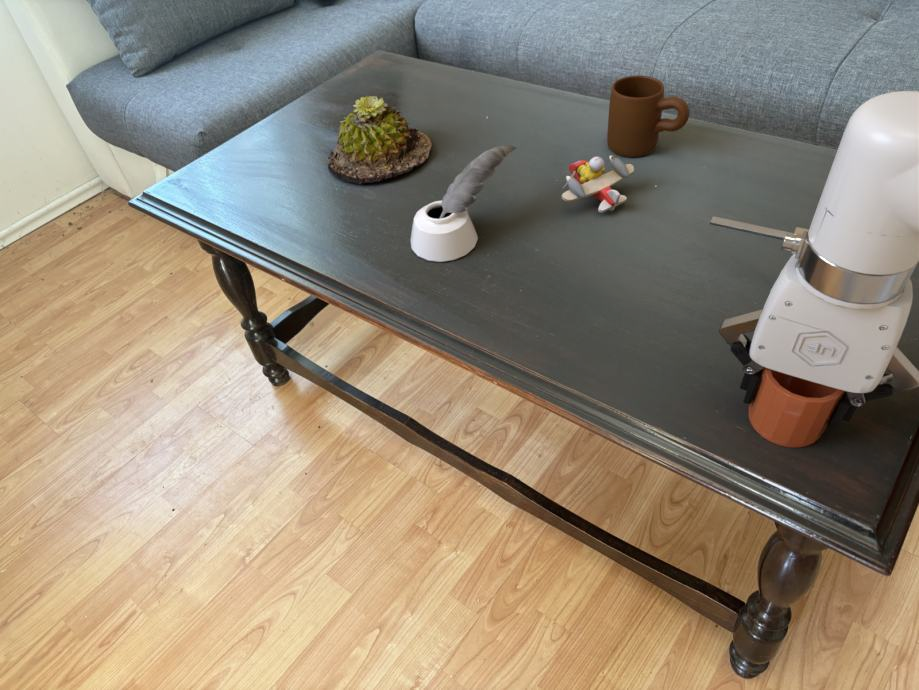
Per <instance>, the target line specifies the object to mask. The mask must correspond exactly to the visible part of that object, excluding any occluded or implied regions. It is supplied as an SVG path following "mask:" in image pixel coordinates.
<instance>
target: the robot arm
mask: <svg viewBox="0 0 919 690" xmlns="http://www.w3.org/2000/svg"><path fill="white" fill-rule="evenodd" d="M808 229H809V230H808V231H804V232H803V235H802V234H798V233H797V235H794V234H790V233H791V232H790V233H786V236H785V239H784V240H783V242H782V245H781V248H780V250H783V251H788V252H790V254H792V255H791V256H790V257H789V259H788V260H787V262H786V263H785V265H784V266H783V268H782V269H781V271H780V273H779V275H778V277H777V278H776V280H775V282H774V283H773V285H772V288H771V289H770V291H769V294H768V297H767V298H766V301H765V303H764V305H763V308H761V309H758V310H754V311H750V312H746V313H743V314H739V315H736V316H733V317H729V318H725V319H723V320H722V321H721V324H720V327H719V329H718V333H719V334H720V336H721V337H722V339H723V340H724V341H725V342H726V344H727V345H729V347H730V351H731V353H732V354H733V355H734V356H735V358H736V359H737V360H738V362H740V363H741V365H742V366H743V367H742V371H743V376H742V379H741V382H740V385H739V389H740V390H744V391H745V394H744V398H743V400H742V403H743V404H746V405H750V404H751V402H752V400H753V397H754V394H755V391H756V389H757V386H758V383H759V381H760V378H761V374H762V370H763V368H765V367H766V368H769V369H772V370H775V371H778V372H781V373H785V374H788V375H791V376H795V377H798V378H801V379H805V380H808V381H812V382H815V383H818V384H822V385H826V386H829V387H833V388H836V389H840V390H844V391H845V392H844V394H843V396H842V398H841V400H840V402H839V404H838V406H837V407H836V409H835V411H834V413H833V415H832V417H831V419H830V421H829V423H828V425H827V428H828V430H829V431H831V432H837V430H838V428H839V427H840V425H841V423H842V421H843V422H847V423H849V422H850V421H851V419H852V417H853V415H854V413H855V412H856V410H857V408H860V407H864V406H865V405H866V402H869V401H874V400H878V399H879V400H880V399H883V398H889V397H891V396H892V395H893V394H894V393H901V392H906V391H909V390H910V391H911V390H913V389H916V388H919V369H918V368H917V367H916V366H915V365H914V364H913V363H912V362H911V361H910V360H909V358H908V357H907V356H906V355H905V353H903V352H902V351H901V349H899V347H898V345H899V342H900V340H901V338H902V335H903V332H904V330H905V327H906V325H907V323H908V318H909V315H910V312H911V310H912V309H911V308H912V305H913V299H914V292H913V283H912V280H911V277H912V275H913V273H914V271H915V269H916V267H917V265H918V263H919V91H917V90H901V91H898V90H897V91H891V92H890V91H889V92H886V93H882V94H880V95H876V96H874V97H872V98H869V99H868V100H866V101H865V102H863V103H862V104H860V106H859V107H858V108H857V109H856V110H855V111H854V112H853V113H852V114H851V116H850V118H849V119H848V122H847V124H846V126H845V128H844V131H843V134H842V138H841V140H840V142H839V145H838V148H837V150H836V153H835V155H834V159H833V162H832V164H831V168H830V170H829V173H828V176H827V178H826V181H825V183H824V187H823V189H822V192H821V195H820V198H819V201H818V204H817V206H816V209H815V212H814V215H813V217H812V220H811V222H810V225H809V228H808ZM750 332H753V335H752V339H750V338H749V337H748V336H747V333H750ZM745 334H746V335H745ZM886 370H887V371H889V372H890V374H889V373H885V372H886Z"/></svg>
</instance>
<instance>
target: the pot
mask: <svg viewBox="0 0 919 690" xmlns="http://www.w3.org/2000/svg"><path fill="white" fill-rule="evenodd" d="M844 392H845V391H844V390H840V389H836V388H833V387H829V386H826V385H822V384H818V383H815V382H812V381H808V380H805V379H801V378H798V377H795V376H791V375H788V374H785V373H781V372H778V371H775V370H772V369H769V368H766V367H765V368H763V370H762V374H761V378H760V381H759V383H758V386H757V389H756V391H755V394H754V397H753V400H752V402H751V404H750V403H749V406H748V409H747V411H748V412H747V416H748V420H749V422H750V424H751V426H752V428H753V429H754V431H756V433H757V434H758V435H760V436H761V437H762V438H764V439H765V440H767V441H768V442H770V443H772V444H775V445H777V446H781V447H786V448H793V449H794V448H804V447H807V446H810V445H813V444H814V443H816V442H817V441H819V439H820V438H821V436H822V435H823V433H824V432H825V430H826V429H827V428H828V423H829V421H830V419H831V417H832V415H833V413H834V411H835V409H836V407H837V406H838V404H839V402H840V400H841V398H842V396H843V394H844Z"/></svg>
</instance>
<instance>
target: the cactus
mask: <svg viewBox="0 0 919 690" xmlns="http://www.w3.org/2000/svg"><path fill="white" fill-rule="evenodd" d="M352 107H353V108H355V109H353V110H352V111H353V112H350V113H349V114H348V115H347V116H346V117H345V116H343V118H344V120H340V126H339V129H338V131H339V132H338V135H337V136H338V139H337V142H336V146H335V148H334V149H332V150H331V151H330V152H329V156H328V157H327V167H328V171H329V173H330V174H331V175H333V176H334V177H335V178H336V179H338V180H340V181H342V182H347V183H355V184H356V185H357V184H358V185H362V184H367V183H368V184H369V183H370V184H371V183H375V182H380V181H382V180H383V181H384V180H387V179H388V178H389V179H391V178H396V177H397V176H400V175H403V174H404V173H405V174H407V173H408V172H410V171H412V170H413V169H414V168H416V167H419V166H421V165H422V164H423V163H425V162H426V160H427V159H428V158H429V155H430V152H431V149H432V145H433V144H432V141H431V139H430V137H429V136H428V134H426V133H424V132H422V131H420V130H419V129H417V128H415V127H414V128H411V127H409V125H410V123H408V122H407V119H406V117H403V115H401V111H397V109H395V107H393V108H392V106H391V105H390V106H389V105H388V102H385V101H384V98H383V97H380V98H378V96H376V95H372V96H371V95H365V97H364V96H361V97H360V99H356V100H355V104H353V105H352Z"/></svg>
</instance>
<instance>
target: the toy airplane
mask: <svg viewBox="0 0 919 690" xmlns="http://www.w3.org/2000/svg"><path fill="white" fill-rule="evenodd" d="M609 160H610V166H611V168H612V169H613V170H610V171H608V172H606V167H605V161H604V158H602V157H600V156H593V157H592V158H591V159H590V160H589V161H587V160H583V159H581V160H577V161H576V162H573V163H571V164H570V165H569V166H568V171H569V173H570V174H571V175H566V176H565V179H566V183H565V185H564V186H563V187H562V190H564V189H565V188H566V187H568V190H566V191H564V192H563V193H561V197H560V198H561V200H562V201H564V202H565V203H572V202H576V201H579V200H582V199H583V200H584V199H585V198H588V197H591V196H592V197H594V198H595V199H597V200H598V201H600V203H599V205H598V209H597V210H598V212H599V213H601V214H603V213H605V212H608V211H610V212H613V211H614V210H615V208H616V207H617V206H620V205H622V204H624V203H625V202H626V201H627V196H626V195H624V194H621V193H620V192H619V191H618V190H616V189H612V187H613V186H615V185H617V184H618V183H620V182H622V181H623V180H624V179H629V177H630V176H632V174H634V171H635V167H634V165H633V164H632V163H626V164H625V163H624V162H623V161H622V160H621V159H620V158H618V157H615V155H609ZM605 172H606V173H605Z"/></svg>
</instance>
